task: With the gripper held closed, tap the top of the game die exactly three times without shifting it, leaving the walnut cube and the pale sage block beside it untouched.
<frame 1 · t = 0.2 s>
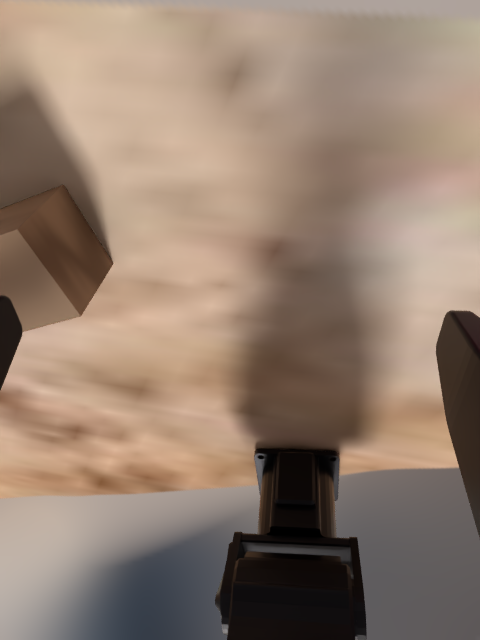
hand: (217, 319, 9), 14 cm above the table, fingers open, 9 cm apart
walnut cube: (53, 238, 26), on the table
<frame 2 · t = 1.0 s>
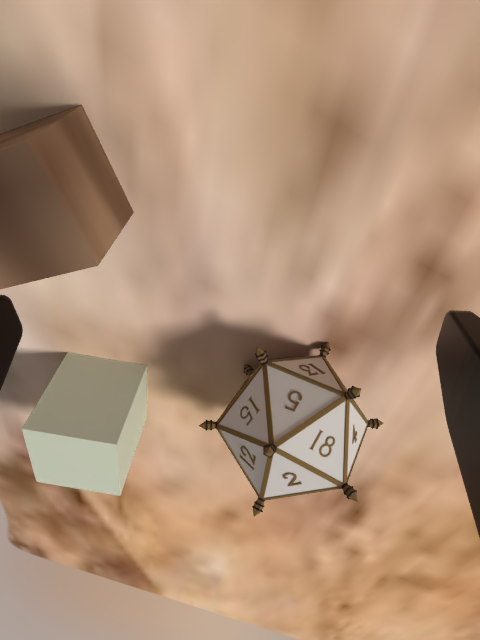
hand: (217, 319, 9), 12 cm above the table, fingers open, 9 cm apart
sage block: (109, 385, 30), on the table
game die: (294, 369, 28), on the table
walnut cube: (63, 176, 21), on the table
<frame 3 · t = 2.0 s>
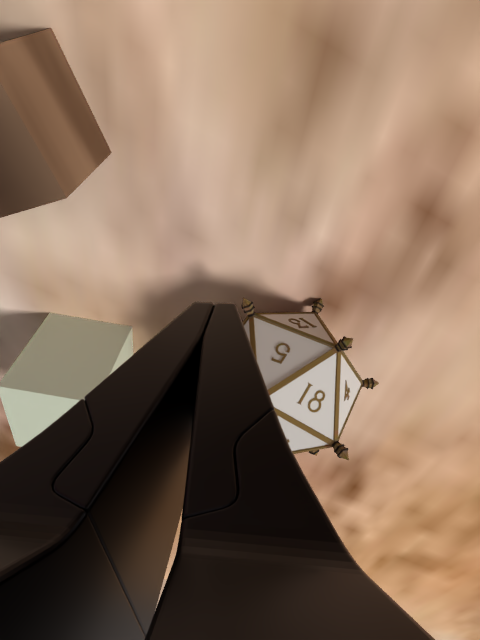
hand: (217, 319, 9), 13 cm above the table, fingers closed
sage block: (94, 349, 29), on the table
game die: (286, 329, 26), on the table
walnut cube: (35, 112, 20), on the table
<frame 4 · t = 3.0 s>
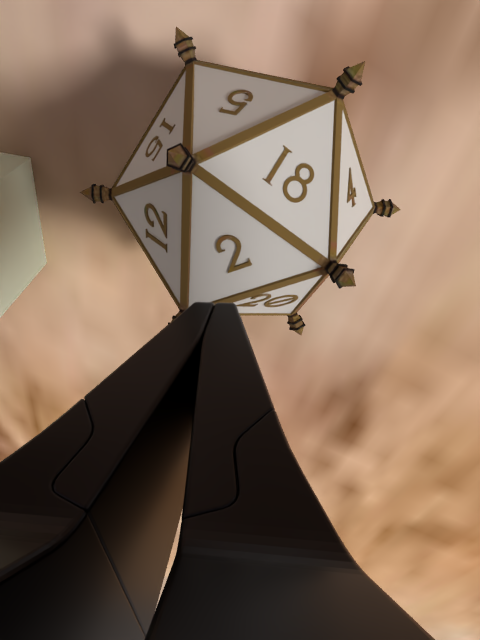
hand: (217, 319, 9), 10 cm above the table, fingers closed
game die: (257, 156, 17), on the table
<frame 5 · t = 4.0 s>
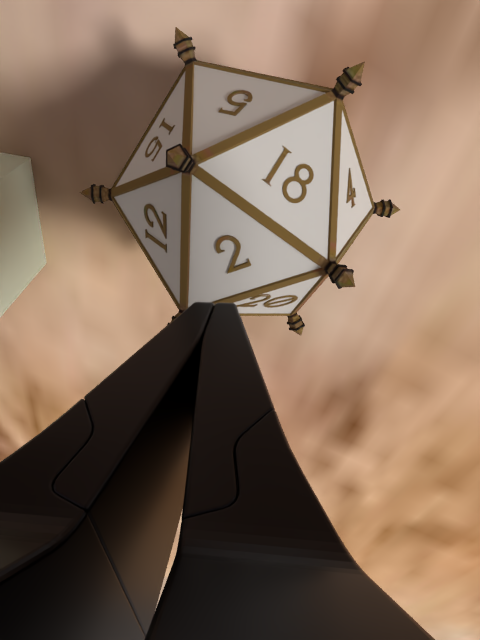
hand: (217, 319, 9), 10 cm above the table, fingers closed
game die: (257, 156, 17), on the table
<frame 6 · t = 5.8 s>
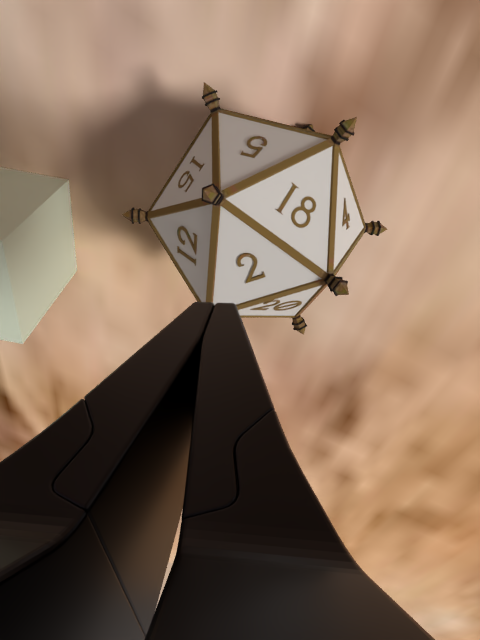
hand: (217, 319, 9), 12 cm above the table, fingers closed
sage block: (23, 218, 23), on the table
game die: (266, 180, 20), on the table
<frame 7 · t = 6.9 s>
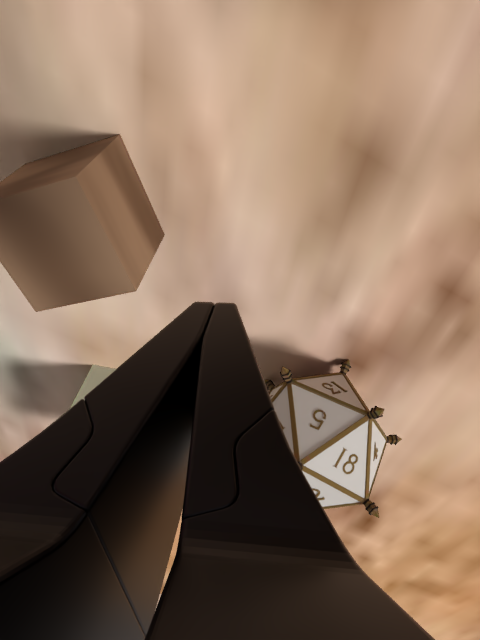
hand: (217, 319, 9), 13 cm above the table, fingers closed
sage block: (131, 396, 31), on the table
game die: (313, 384, 28), on the table
walnut cube: (97, 199, 22), on the table
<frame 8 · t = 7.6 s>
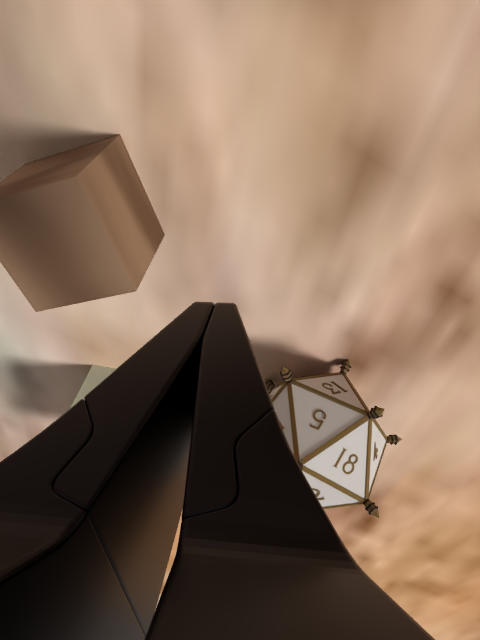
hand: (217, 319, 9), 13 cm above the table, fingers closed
sage block: (132, 396, 31), on the table
game die: (313, 384, 28), on the table
walnut cube: (97, 199, 22), on the table
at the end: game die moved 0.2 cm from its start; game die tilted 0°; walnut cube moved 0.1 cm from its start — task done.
